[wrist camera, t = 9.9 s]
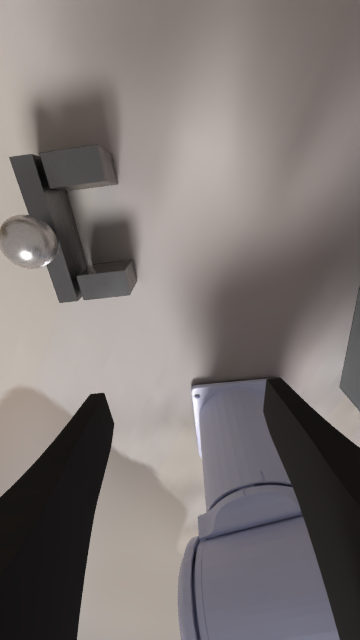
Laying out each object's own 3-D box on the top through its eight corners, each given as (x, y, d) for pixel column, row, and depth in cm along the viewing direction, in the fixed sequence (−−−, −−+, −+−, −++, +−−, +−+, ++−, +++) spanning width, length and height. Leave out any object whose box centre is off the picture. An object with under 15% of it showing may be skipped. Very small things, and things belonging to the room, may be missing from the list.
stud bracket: (137, 281, 19) (118, 316, 13) (67, 289, 19) (20, 326, 13) (112, 154, 15) (72, 128, 10) (28, 166, 16) (-59, 147, 10)
